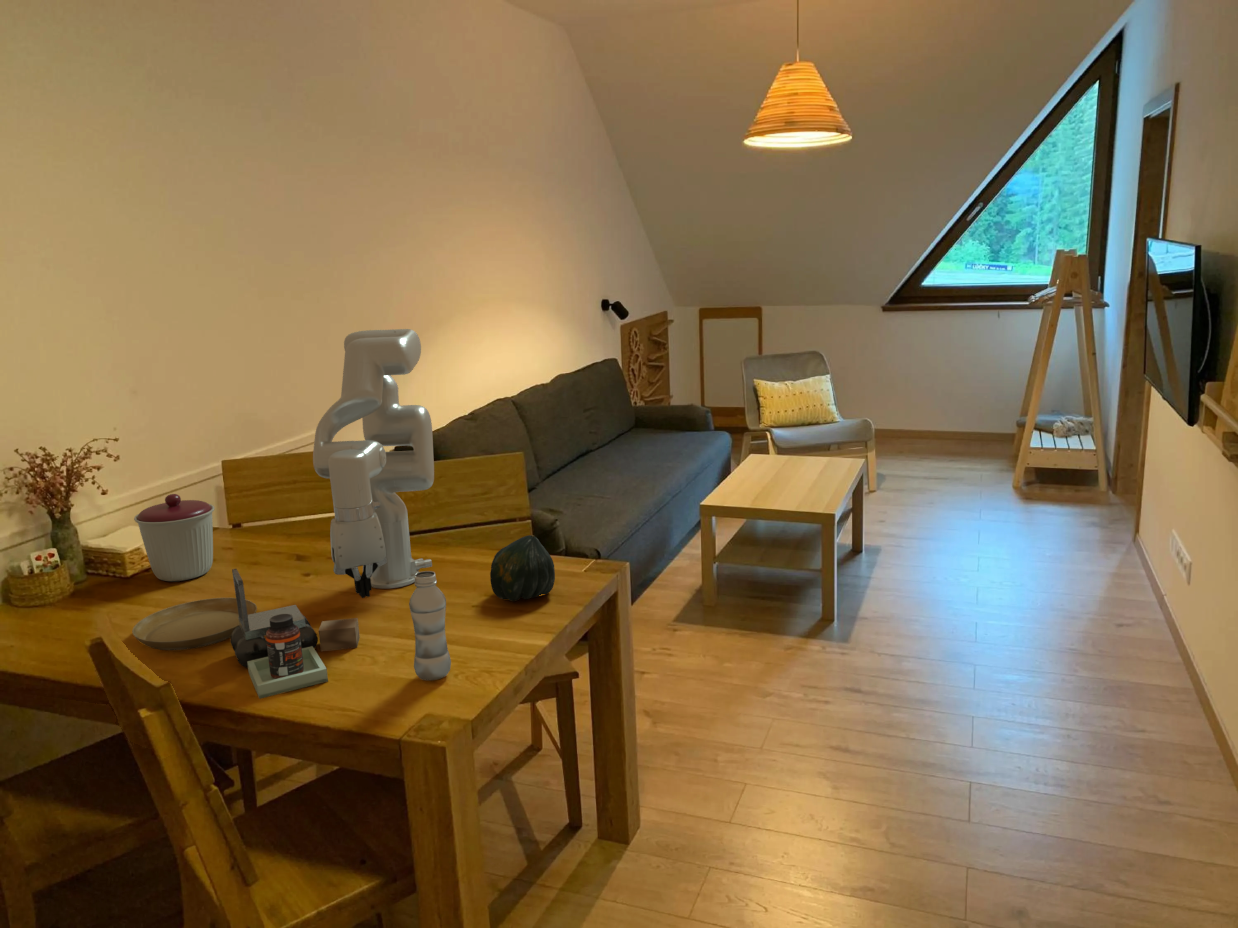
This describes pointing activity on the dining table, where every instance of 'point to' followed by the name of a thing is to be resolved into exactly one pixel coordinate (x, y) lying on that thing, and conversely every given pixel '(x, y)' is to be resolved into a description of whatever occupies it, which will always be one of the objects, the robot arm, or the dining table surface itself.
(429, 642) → the plastic bottle
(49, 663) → the dining table surface
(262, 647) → the trolley
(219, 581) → the dining table surface
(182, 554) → the canister
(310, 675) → the tray
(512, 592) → the squash
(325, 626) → the block
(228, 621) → the plant saucer
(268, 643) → the supplement bottle
